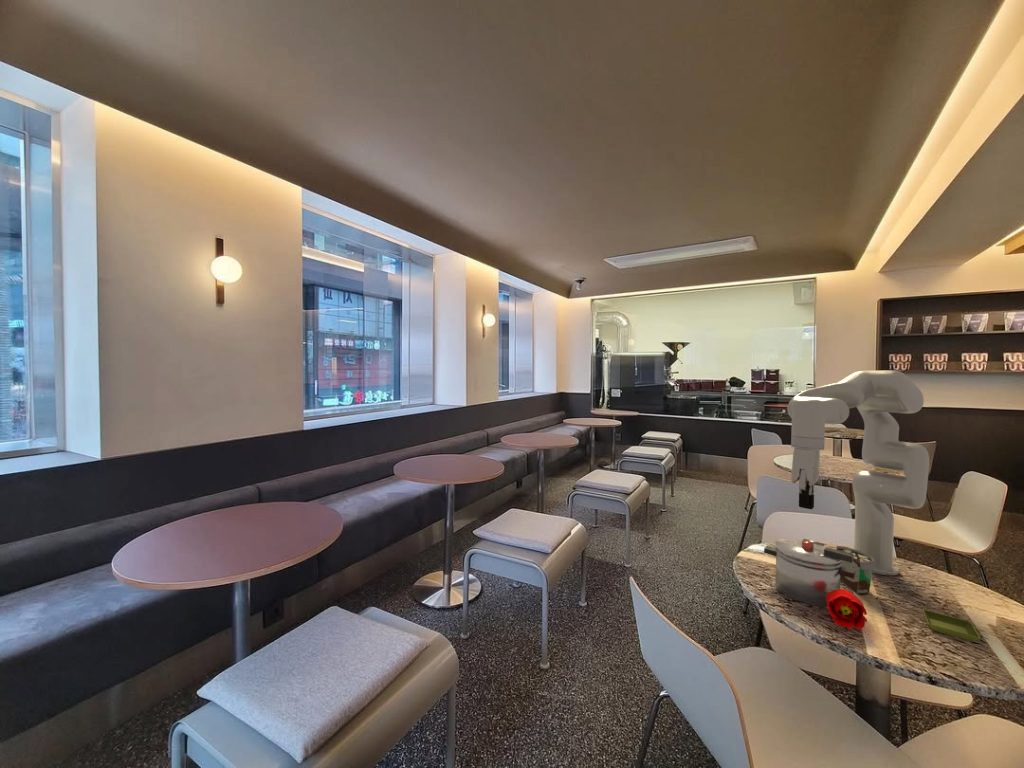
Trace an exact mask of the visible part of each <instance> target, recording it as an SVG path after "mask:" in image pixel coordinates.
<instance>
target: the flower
mask: <svg viewBox="0 0 1024 768" xmlns="http://www.w3.org/2000/svg"><path fill="white" fill-rule="evenodd" d="M826 602H827V607H826V609H827V611H828V613H829V615H830V617H832V621H833V622H834V624H836V625H837V626H838V627H844V628H847V629H848V630H849V629H850V630H851V629H852V628H855V629H857V630H862V629H864V628H865V626H866V622H867V620H868V619H867V617H866V615H867V614H868V613H867V609H866V608H865V606H864V603H863V601H861V599H860V598H859V597H857V595H856V594H855V593H852V591H849V590H847V589H844V588H840V589H837V590H833V591H831V592H829V593H828V594H827V595H826Z"/></svg>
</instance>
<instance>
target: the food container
mask: <svg viewBox="0 0 1024 768" xmlns="http://www.w3.org/2000/svg"><path fill="white" fill-rule="evenodd" d="M835 549H836V550H840V551H844V552H848V553H852V554H854V559H853V562H852V563H851V562H847V561H843V560H842V567H846V568H849V569H853V570H856V574H855V577H854V579H852V578H849V577H846V576H842V575H841V578H840V583H841V584H843V585H844V586H845V587H847V588H848V589H849V590H850V591H851V592H853V594H854V595H856V596H867V595H869V594H870V590H871V583H872V576H873V573H872V570H873V569H875V568H876V565H875V561H874V560H873V558H872V557H871V556H870V555H868V554H866V553H864V552H861V551H858V550H855V549H854V548H850V547H846V546H839V545H836V548H835Z"/></svg>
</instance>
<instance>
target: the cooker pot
mask: <svg viewBox="0 0 1024 768" xmlns="http://www.w3.org/2000/svg"><path fill="white" fill-rule="evenodd" d="M763 553H764V554H767V555H770V556H772V557H773V556H774V557H775V576H774V578H775V580H774V585H775V588H776V587H777V588H776V589H777V590H778V591H779V592H780V593H782V594H783V595H785V596H786V597H789V598H791V599H793V600H796V601H797V602H800V603H805V604H806V605H812V606H817V607H826V608H827V602H826V595H827V594H828V593H829V592H831V591H833V590H837V589H841V582H840V578H841V575H842V576H846V577H849V578H852V579H854V577H855V574H856V570H853V569H849V568H846V567H842V564H840V565H836V566H825V565H817V564H811V563H807V562H803V561H799V560H796V559H793V558H791V557H788V556H786V555H784V554H782V553H780V552H779V551H778V550H777V549H776V548H775V546H774V547H773V546H771V545H770V546H769V545H766V546H765V547H764V548H763Z"/></svg>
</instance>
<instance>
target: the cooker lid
mask: <svg viewBox="0 0 1024 768" xmlns="http://www.w3.org/2000/svg"><path fill="white" fill-rule="evenodd" d="M774 544H775V545H774V548H776V549H777V550H778V551H779V552H780V553H782V554H784V555H786V556H788V557H791V558H793V559H796V560H799V561H803V562H807V563H811V564H817V565H825V566H836V565H840V564H842V560H843V561H847V562H851V563H852V562H853V559H854V554H852V553H848V552H844V551H840V550H836V548H831V547H829V546H826V545H825V543H821V542H819V541H814V540H810V539H806V538H803V539H796V538H779V539H777V540H775V543H774Z"/></svg>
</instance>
